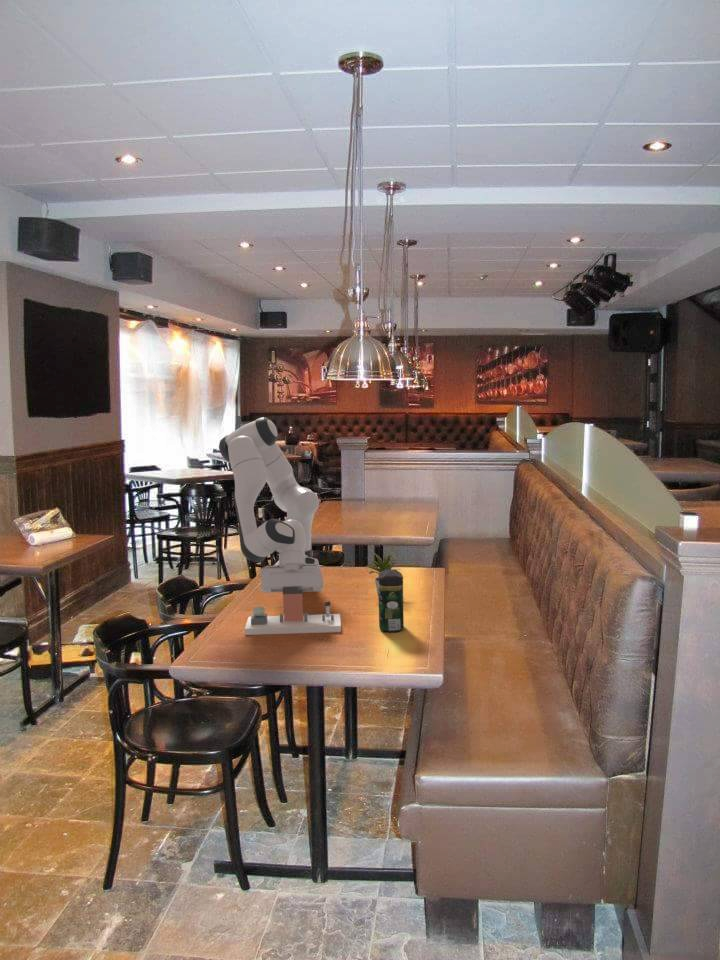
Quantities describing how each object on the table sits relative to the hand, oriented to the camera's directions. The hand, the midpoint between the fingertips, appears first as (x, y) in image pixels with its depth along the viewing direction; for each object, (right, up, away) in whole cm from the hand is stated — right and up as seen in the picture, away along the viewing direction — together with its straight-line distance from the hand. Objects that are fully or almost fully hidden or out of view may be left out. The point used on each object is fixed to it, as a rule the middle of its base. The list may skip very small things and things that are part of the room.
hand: (292, 602), depth 233 cm
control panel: (0, -8, +2) cm, 8 cm away
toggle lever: (+11, -5, +2) cm, 13 cm away
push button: (-11, -4, +1) cm, 11 cm away
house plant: (+31, -3, +37) cm, 48 cm away
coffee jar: (+32, -8, 0) cm, 33 cm away
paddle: (0, -6, +1) cm, 6 cm away
